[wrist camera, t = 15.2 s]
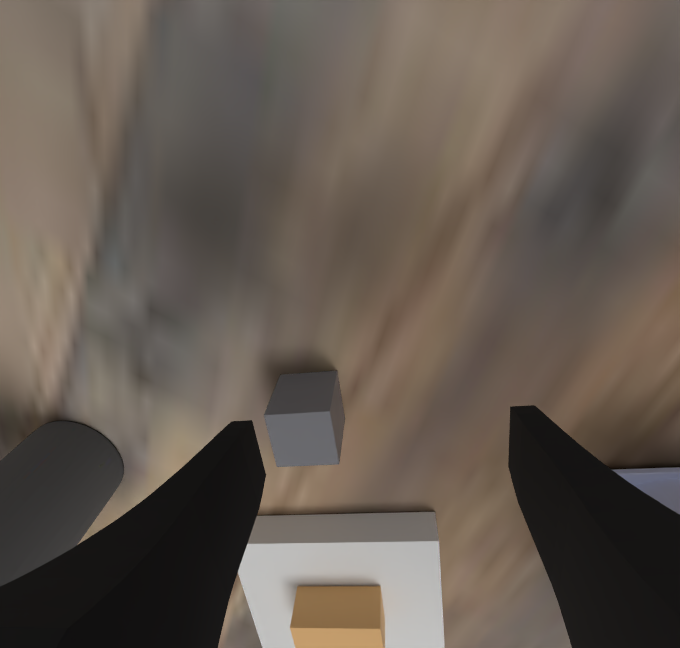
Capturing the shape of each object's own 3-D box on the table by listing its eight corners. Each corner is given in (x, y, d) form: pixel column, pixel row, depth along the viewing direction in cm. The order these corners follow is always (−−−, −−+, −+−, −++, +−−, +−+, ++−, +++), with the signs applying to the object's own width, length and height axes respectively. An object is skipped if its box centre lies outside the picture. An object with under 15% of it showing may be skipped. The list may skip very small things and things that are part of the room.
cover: (400, 295, 21) (403, 333, 17) (414, 458, 25) (419, 516, 22) (203, 314, 23) (167, 352, 19) (246, 465, 27) (224, 521, 23)
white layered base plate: (238, 516, 28) (228, 544, 26) (435, 511, 26) (438, 541, 24) (289, 682, 35) (284, 713, 33) (444, 687, 33) (448, 719, 31)
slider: (297, 586, 27) (289, 627, 24) (380, 586, 26) (380, 628, 24) (305, 617, 28) (298, 660, 26) (384, 618, 27) (385, 662, 25)
